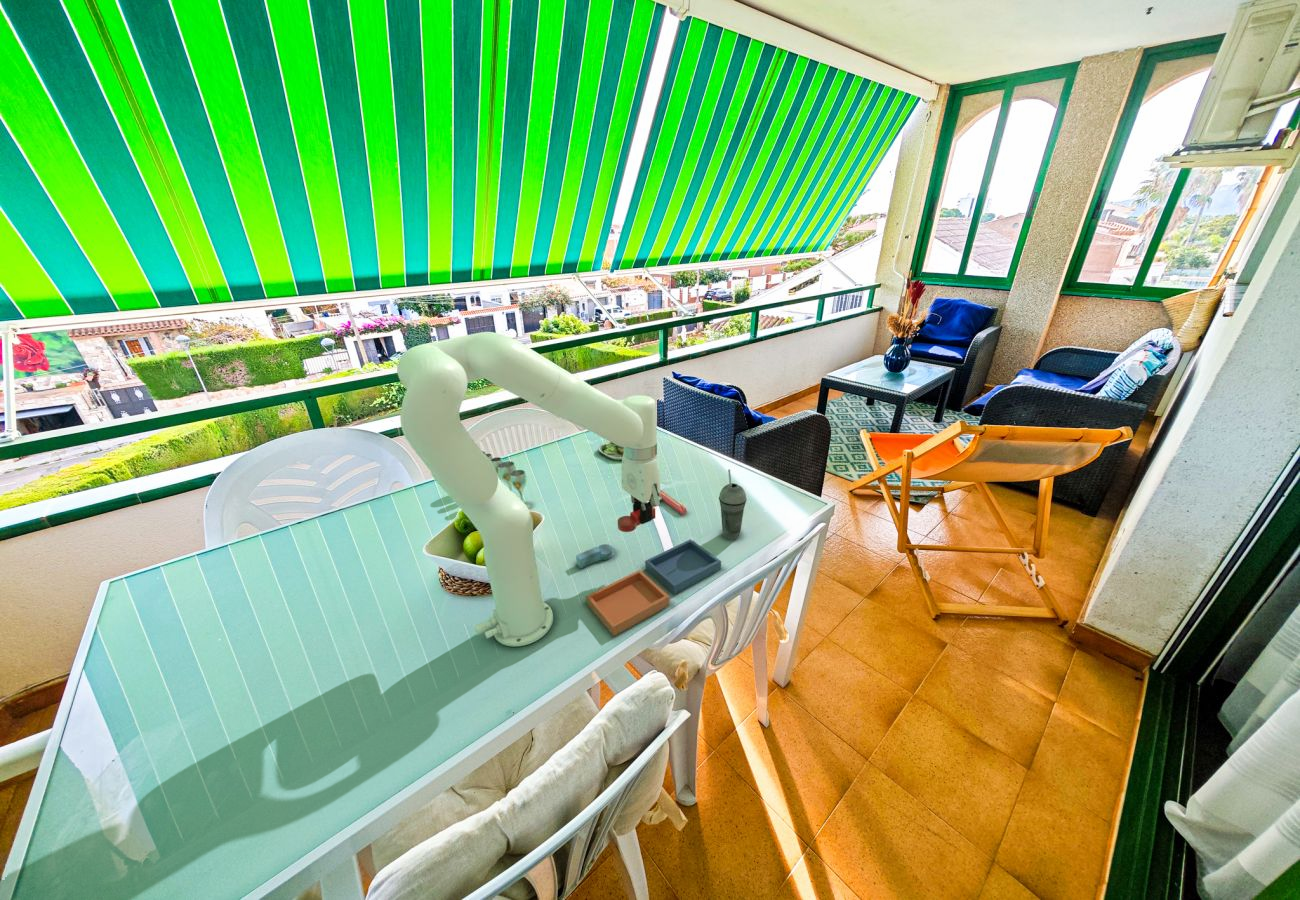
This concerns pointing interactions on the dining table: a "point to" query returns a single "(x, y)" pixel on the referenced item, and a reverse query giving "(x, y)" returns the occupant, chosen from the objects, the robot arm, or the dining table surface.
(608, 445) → the salad plate
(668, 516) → the dining table surface
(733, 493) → the beverage cup
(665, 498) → the red bar
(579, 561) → the blue-grey rounded block
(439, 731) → the dining table surface
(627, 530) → the red spoon
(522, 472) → the goblet set
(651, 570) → the slate tray
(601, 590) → the terracotta tray
